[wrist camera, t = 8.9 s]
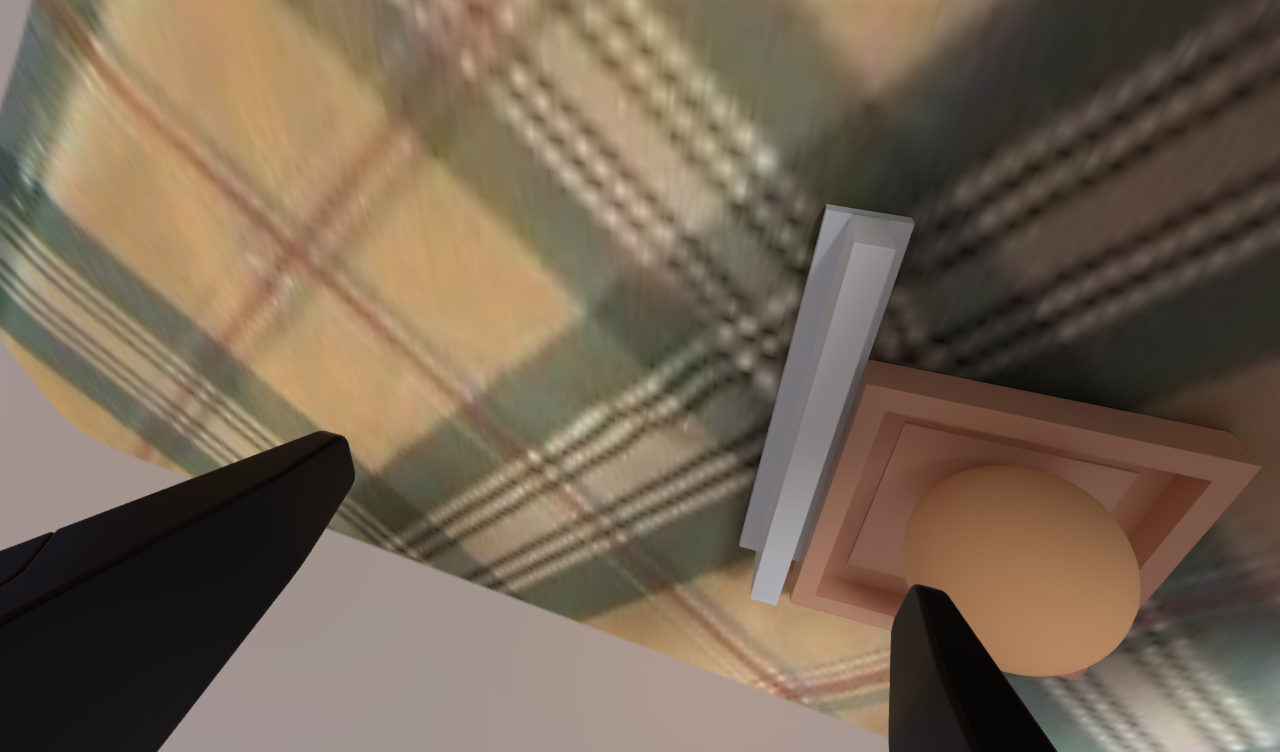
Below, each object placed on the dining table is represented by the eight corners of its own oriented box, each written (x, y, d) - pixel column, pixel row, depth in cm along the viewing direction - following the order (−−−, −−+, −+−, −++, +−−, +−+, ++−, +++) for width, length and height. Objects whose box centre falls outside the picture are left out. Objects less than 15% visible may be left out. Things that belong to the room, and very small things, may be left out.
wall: (912, 217, 17) (925, 254, 15) (798, 550, 25) (795, 611, 22) (826, 203, 18) (825, 237, 15) (740, 535, 25) (731, 593, 23)
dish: (1231, 432, 18) (1263, 466, 17) (1063, 643, 24) (1076, 681, 22) (864, 358, 20) (866, 383, 18) (791, 571, 26) (789, 602, 24)
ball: (1097, 468, 20) (1232, 535, 14) (1044, 631, 21) (1152, 757, 15) (909, 427, 21) (964, 474, 15) (867, 584, 22) (904, 685, 16)
